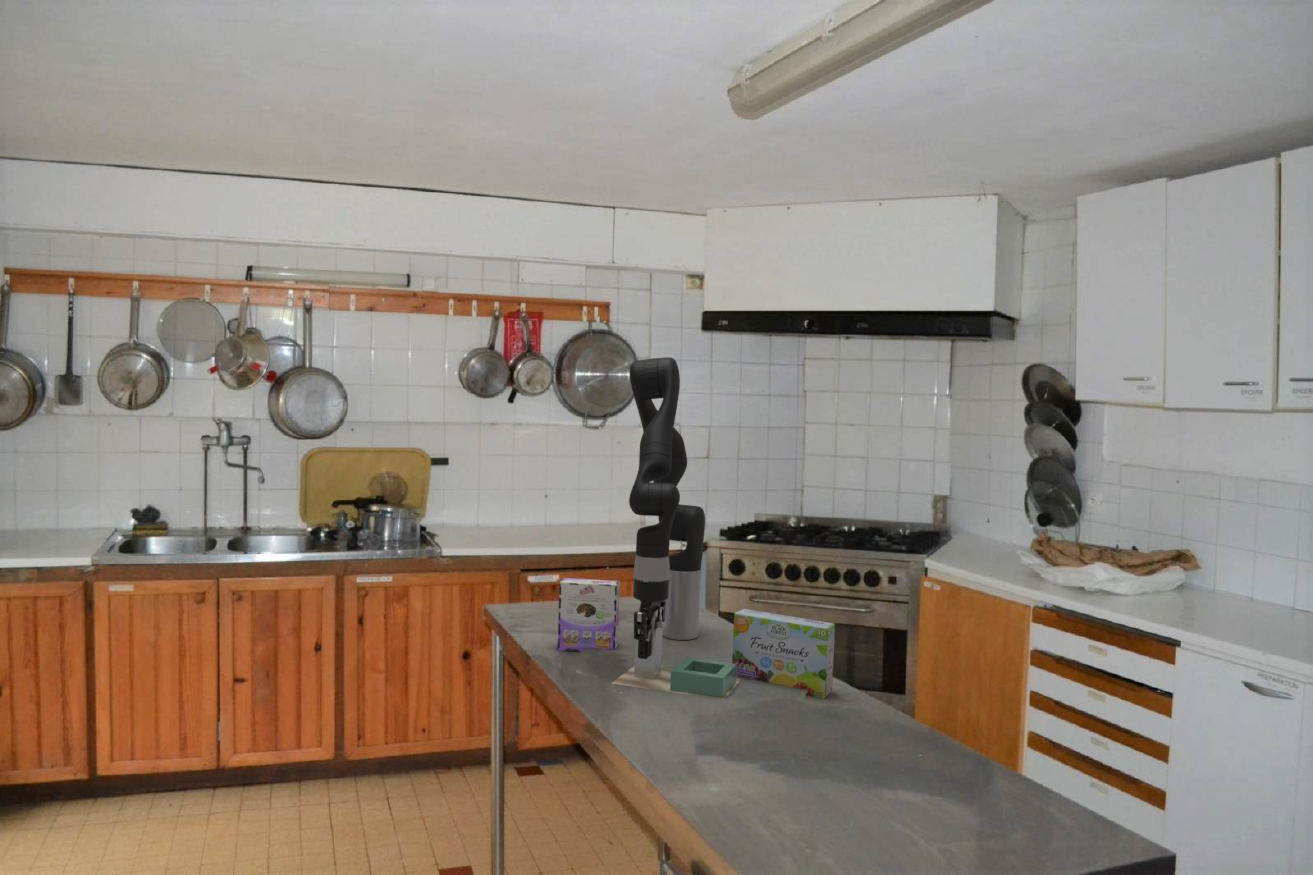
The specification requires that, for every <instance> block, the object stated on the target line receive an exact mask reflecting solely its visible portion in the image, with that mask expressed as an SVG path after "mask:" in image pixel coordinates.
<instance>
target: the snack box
mask: <svg viewBox="0 0 1313 875" xmlns="http://www.w3.org/2000/svg"><path fill="white" fill-rule="evenodd" d="M835 629H836V624H835V622H834V623H833V622H826V621H820V620H817V619H815V620H814V619H811V618H804V617H803V618H802V617H796V616H791V615H784V614H778V613H774V612H773V613H772V612H765V611H759V610H753V609H747V608H742V609H740V610H737V611H736V612H734V613H733V631H732V632H733V634H732V635H733V637H732V658H731V663H733V664H737V672H736V677H738V678H739V677H740V678H742V679H743V678H744V679H748V680H754V681H759V682H764V683H768V684H769V683H770V684H775V685H779V686H780V685H781V686H785V687H791V688H794V689H795V688H796V689H800V690H807V692H806V694H805V696H808V697H813V698H819V699H823V700H824V699H826V698H827V697H828V696H829V695H830V694H831V693H832V692H833V675H834V674H833V672H834V658H835V657H834V655H835V653H834V651H835V635H836V634H835V632H836V630H835Z"/></svg>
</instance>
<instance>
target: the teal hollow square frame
mask: <svg viewBox="0 0 1313 875" xmlns="http://www.w3.org/2000/svg"><path fill="white" fill-rule="evenodd" d="M736 672H737V664H733V663H732V662H725V661H717V660H710V659H703V658H702V659H701V658H696V657H695V658H694V657H689V656H687V657H685V658H684V659H682V661H681V662H679V664H677V665H676V666H675V667H673V669H672V670H671V682H670V690H671V691H678V692H685V693H692V694H699V695H705V696H712V697H719V698H723V697H724V696H725V695H726V693H727V692H728V691H729V690H730V689H731V688H732V687H733V686H734V684H735V683H736V678H737V676H736Z"/></svg>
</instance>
